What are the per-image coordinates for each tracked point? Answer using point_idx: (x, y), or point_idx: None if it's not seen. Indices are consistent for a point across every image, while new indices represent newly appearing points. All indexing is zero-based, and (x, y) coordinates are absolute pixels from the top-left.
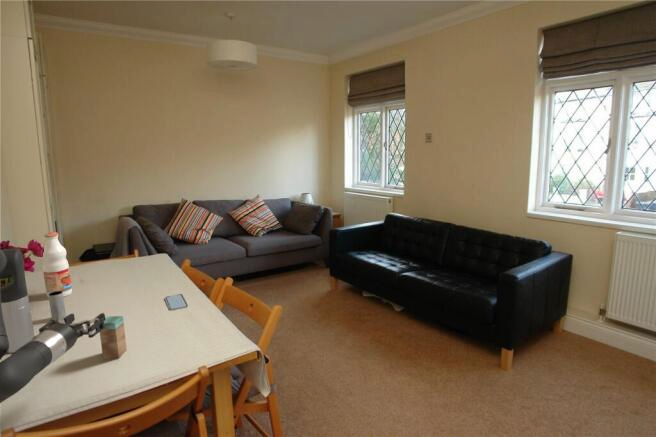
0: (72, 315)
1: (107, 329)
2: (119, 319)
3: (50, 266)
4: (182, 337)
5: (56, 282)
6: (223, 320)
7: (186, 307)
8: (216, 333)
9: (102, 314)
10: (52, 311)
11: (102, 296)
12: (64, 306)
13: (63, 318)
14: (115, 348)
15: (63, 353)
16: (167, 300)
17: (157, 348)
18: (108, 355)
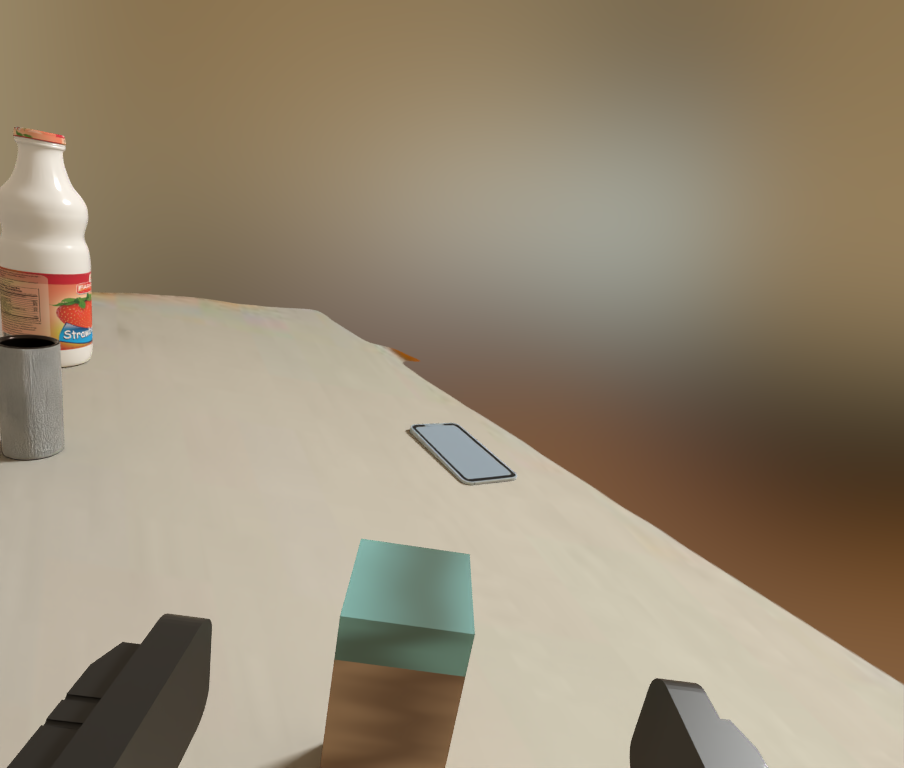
0: (191, 656)
1: (399, 669)
2: (470, 587)
3: (25, 249)
4: (654, 664)
5: (41, 312)
6: (719, 570)
7: (513, 479)
8: (785, 656)
9: (717, 722)
10: (6, 418)
11: (194, 387)
12: (62, 404)
13: (17, 760)
14: None
15: None
16: (427, 439)
17: (601, 754)
18: None
